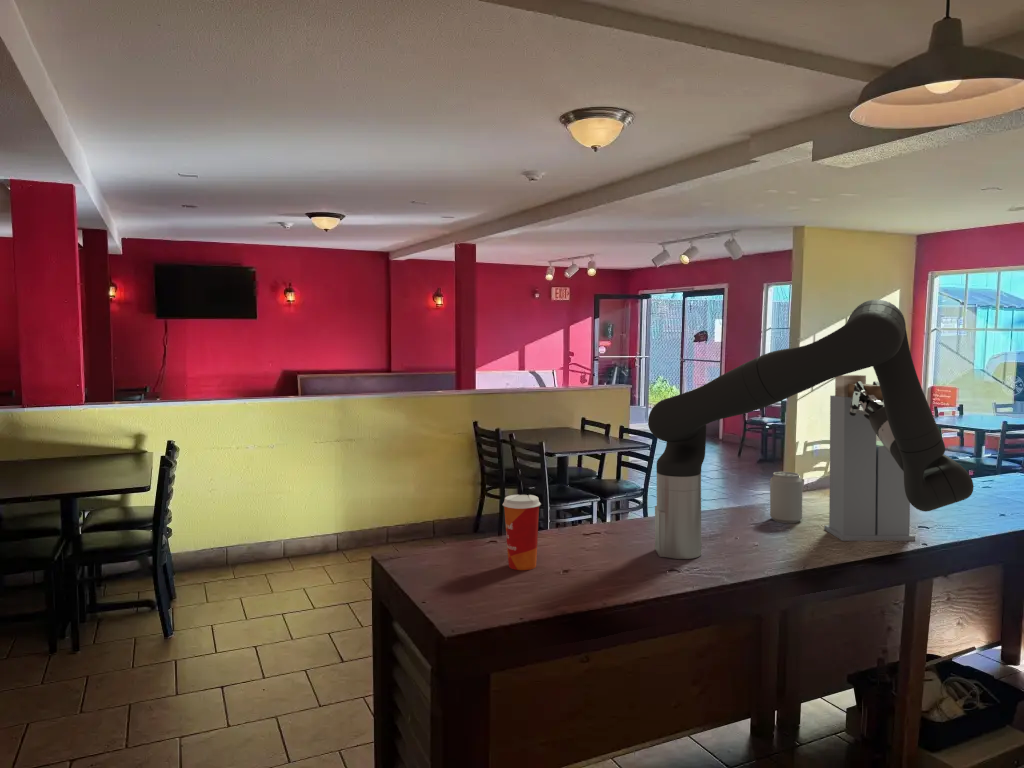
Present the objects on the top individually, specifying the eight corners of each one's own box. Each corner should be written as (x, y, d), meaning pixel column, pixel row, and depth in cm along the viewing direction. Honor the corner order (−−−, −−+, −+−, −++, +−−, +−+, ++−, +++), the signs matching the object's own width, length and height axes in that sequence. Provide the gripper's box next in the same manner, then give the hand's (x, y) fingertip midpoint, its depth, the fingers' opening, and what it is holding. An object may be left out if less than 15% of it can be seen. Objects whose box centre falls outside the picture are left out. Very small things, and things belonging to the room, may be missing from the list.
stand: (841, 540, 159) (843, 398, 157) (824, 529, 169) (825, 395, 167) (915, 540, 158) (917, 397, 156) (893, 529, 168) (894, 394, 166)
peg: (865, 400, 150) (866, 377, 150) (835, 395, 166) (835, 375, 166) (889, 400, 150) (889, 377, 150) (856, 395, 166) (856, 374, 166)
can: (797, 525, 173) (797, 476, 172) (766, 521, 177) (766, 473, 177) (805, 519, 179) (805, 472, 178) (775, 515, 183) (775, 469, 183)
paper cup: (507, 559, 148) (506, 493, 147) (543, 561, 146) (542, 494, 146) (500, 571, 140) (499, 501, 139) (538, 573, 139) (537, 502, 138)
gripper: (940, 416, 138) (903, 369, 153) (867, 416, 139) (836, 370, 154) (930, 446, 142) (894, 398, 157) (858, 447, 143) (829, 399, 158)
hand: (865, 385), depth 155 cm, fingers closed on peg, 3 cm apart
